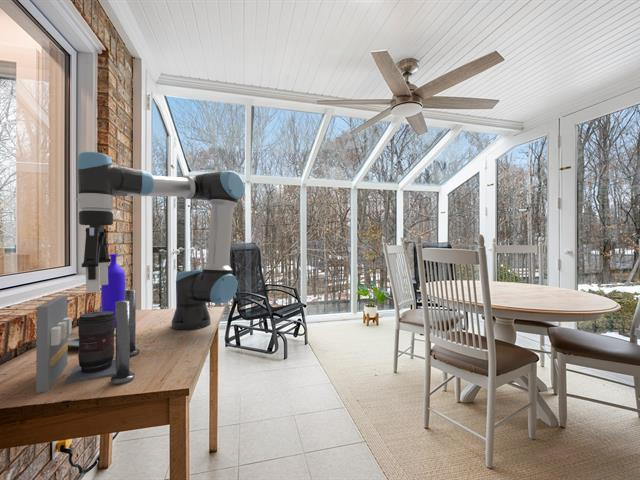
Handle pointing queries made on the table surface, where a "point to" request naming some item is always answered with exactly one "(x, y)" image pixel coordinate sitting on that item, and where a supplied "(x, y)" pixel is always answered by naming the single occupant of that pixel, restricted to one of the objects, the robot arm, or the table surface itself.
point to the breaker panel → (51, 341)
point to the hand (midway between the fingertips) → (98, 288)
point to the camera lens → (96, 341)
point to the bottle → (113, 287)
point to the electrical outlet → (76, 342)
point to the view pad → (90, 374)
